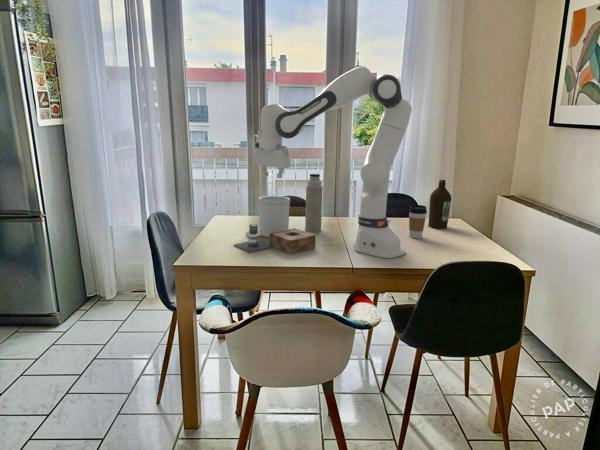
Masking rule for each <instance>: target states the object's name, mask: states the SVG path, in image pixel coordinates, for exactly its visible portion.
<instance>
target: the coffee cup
mask: <svg viewBox="0 0 600 450" xmlns="http://www.w3.org/2000/svg"><path fill="white" fill-rule="evenodd" d="M408 212H409V215H408V227H409V228H408V232H409V233H408V236H409V238H410V237H411V239H414V238H420V239H423V232H424V228H425V223H426V215H427V213H428V210H427V206H426V205H421V204H414V205H411V206H409V209H408Z"/></svg>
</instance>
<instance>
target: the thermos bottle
mask: <svg viewBox="0 0 600 450" xmlns="http://www.w3.org/2000/svg"><path fill="white" fill-rule="evenodd" d="M320 178H321V175H320V174H319V173H310V174H309V180H307V185H306V186H305V187H306V188H305V189H306V191H305V218H304V219H305V226H304V231H305V232H308V233H318V232H321V231H322V214H323V213H322V211H323V188H324V186H323V184H322V180H320Z"/></svg>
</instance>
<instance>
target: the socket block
mask: <svg viewBox="0 0 600 450" xmlns="http://www.w3.org/2000/svg"><path fill="white" fill-rule="evenodd" d="M316 237H317V236H316V234H314V233H312V232H309V231H306V230H302V229H298V228H296V227H295V228H288V230H283V231H278V232H273V233H270V237H269V245H271V246H273V249H276V250H278V251H281V252H283V253H286V254H288V255H295V254H298V253H303V252H306V251H310V250H314V249H316V242H317V241H316V239H317V238H316Z"/></svg>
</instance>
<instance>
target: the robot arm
mask: <svg viewBox="0 0 600 450" xmlns="http://www.w3.org/2000/svg"><path fill="white" fill-rule="evenodd" d="M363 96H369V97H370V98H371V99H372V100H373V101H374V102H376V103H377V104H380V105H382V107H383V111H382V116H381V118H380V121H379V123H378V126H377V128H376V131H375V135H374V137H373V139H372V142H371V143H370V146H369V149H368V151H367V153H366V156H365V158H364V161H363V163H362V165H361V167H360V171H359V173H360V178H361V181H362V189H361V194H360V201H359V202H360V205H359V215H358V221H357V222H358V231H357V236H356V239H355V242H354V245H353V247H354V251H355V252H358V253H361V254H366V255H370V256H373V257H374V256H375V257H378V258H382V259H395V258H398V257H402V256H403V255H406V249H403V248H401V240H400V238H399V237H398V235H397V234H396V232H394V231H393V230H392V228H391V227H389V224H391V219H389V220H388V219H387V214H386V213H387V205H388V204H387V201H388V194H389V183H390V174H391V168H392V166H393V163H394V161H395V158H396V156H397V154H398V151H399V149H400V146H401V144H402V141H403V139H404V136H405V134H406V132H407V128H408V126H409V123H410V119H411V115H412V105H411V103H410V102H409V101H408V100H406V99H404V98H403V96H402V87H401V83H400V81H399V80H398V78H397V77H396V76H394V75H392V74H380V75H377V76H374V74H372V71H371V70H370V69H369V68H367V67H366V66H363V65H360V66H358V67H355V68H353V69H350V70H349V71H346V72H344V73H343V74H342V75H340V76H339V77H337V78H336V79H334V80H333V81H332V82H330V83H329V84H328V85H327V86H326V87H325V88H324V89H323V90H322V91H321V92H320V93H319V94H318V95H317V96H316V97H314V98H313V99H311V100H310V101H309V102H307V103H305V104H304V105H302V106H300V107H298V108H297V109H295V110H288V109H286V108H284V107H283V106H281V105H280V104H279V103H274V104H272V103H271V104H268V105H264V106H263V107H262V108H261V111H260V129H261V136H260V140H259V141H256V142H255V143H253V147H254V162H255V165H256V166H260V167H261V168H260V169H261V171H262V175H263V177H269V171H268V170H267V168H268V167H270V168H271V167H272V168H276V169H277V170H278V173H277V174H276V178H277V179H282V178H283V173H284V171H285V169H289V168H290V167H291V156H290V152H289V148H288V146H287V145H285V144H283V139H284V138H285V139H292V138H294V137H296V136H298V135H300V134H302V132H303V131H304V129H305V126H306V124H307V123H308V122H310V121H312V120H314V118H315V119H316V117H318V116H320V115H322V114H324V113H326V112H329V111H334V110H339V109H341V108H343V107H346V106H348V105H350V104H352V103H353V102H354V101H356V100H358V99H360V97H363Z"/></svg>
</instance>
